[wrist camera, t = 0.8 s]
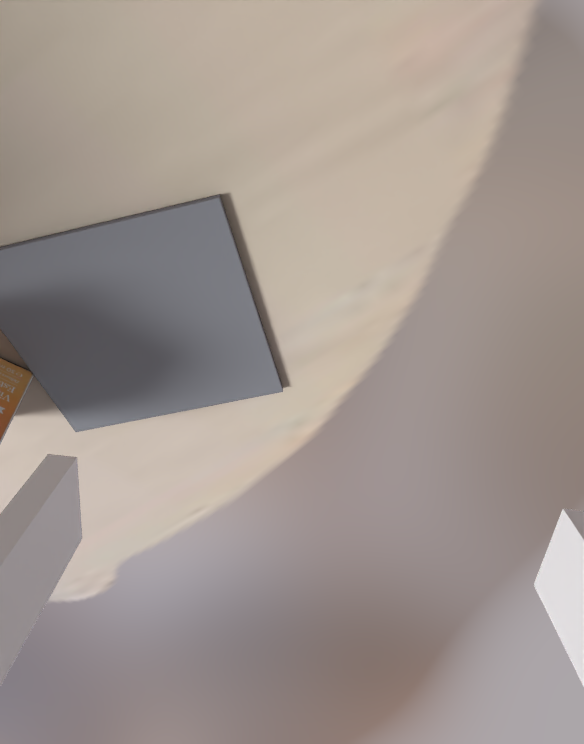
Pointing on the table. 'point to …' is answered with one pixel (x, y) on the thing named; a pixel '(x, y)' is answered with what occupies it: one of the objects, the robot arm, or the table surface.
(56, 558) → the robot arm
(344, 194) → the table surface
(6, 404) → the small box
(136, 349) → the mat
